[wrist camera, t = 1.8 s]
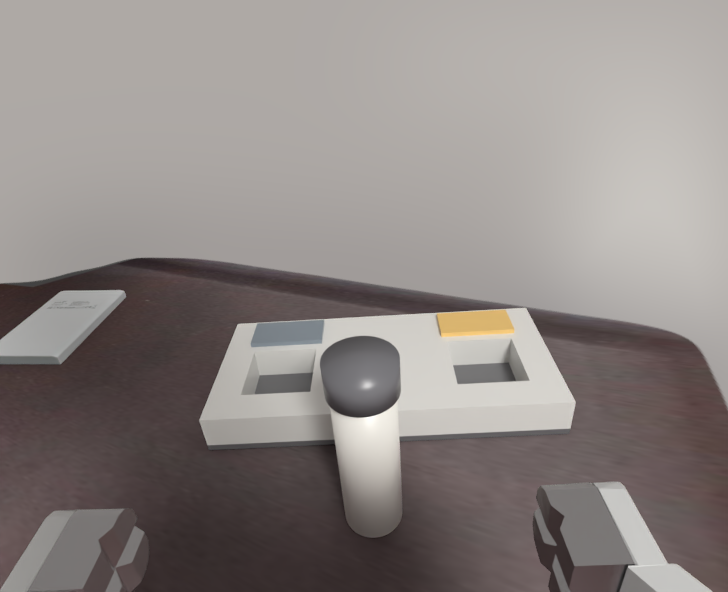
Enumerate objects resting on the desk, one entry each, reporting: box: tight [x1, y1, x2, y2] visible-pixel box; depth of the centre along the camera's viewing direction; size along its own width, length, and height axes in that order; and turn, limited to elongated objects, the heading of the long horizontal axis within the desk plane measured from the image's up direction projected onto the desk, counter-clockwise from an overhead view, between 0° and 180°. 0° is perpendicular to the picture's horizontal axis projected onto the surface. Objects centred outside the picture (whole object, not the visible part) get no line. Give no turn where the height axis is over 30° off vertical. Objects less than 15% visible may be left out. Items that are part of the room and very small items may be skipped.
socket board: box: [199, 308, 576, 450], centre depth 39 cm, size 26×12×3 cm, turn 90°
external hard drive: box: [0, 290, 126, 364], centre depth 52 cm, size 2×8×12 cm
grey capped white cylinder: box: [320, 336, 403, 538], centre depth 27 cm, size 4×4×12 cm
